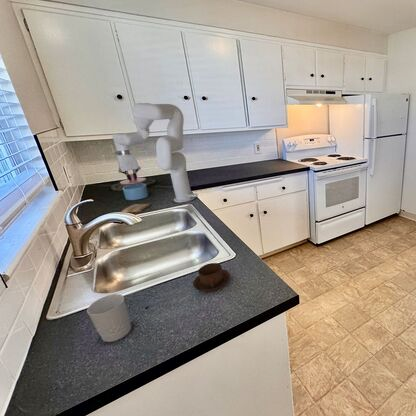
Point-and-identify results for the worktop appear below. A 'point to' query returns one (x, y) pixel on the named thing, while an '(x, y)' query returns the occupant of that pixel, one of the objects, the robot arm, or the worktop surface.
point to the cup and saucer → (211, 277)
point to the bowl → (135, 191)
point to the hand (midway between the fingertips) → (132, 179)
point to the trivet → (136, 208)
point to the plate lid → (132, 180)
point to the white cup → (110, 317)
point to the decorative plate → (119, 186)
